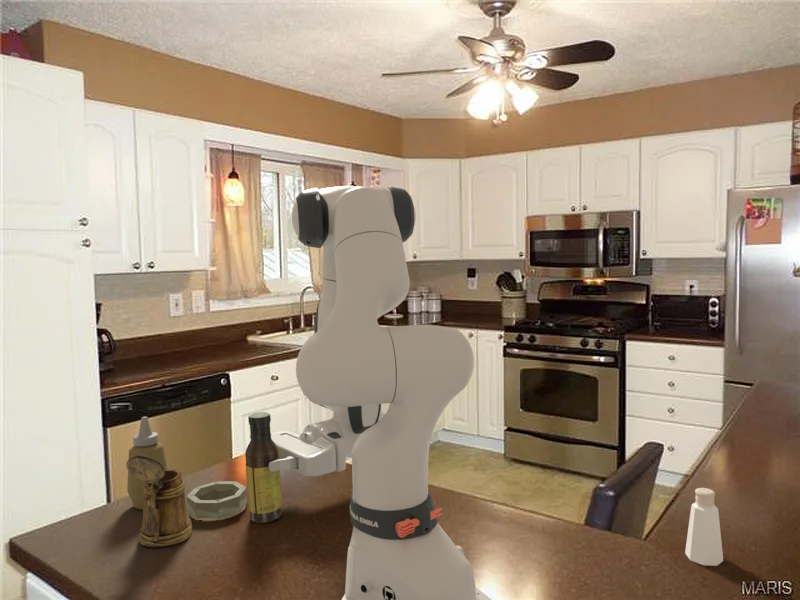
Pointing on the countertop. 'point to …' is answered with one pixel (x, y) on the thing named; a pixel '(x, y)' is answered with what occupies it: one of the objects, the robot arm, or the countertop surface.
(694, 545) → the salt shaker
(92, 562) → the countertop surface
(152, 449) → the squeeze bottle
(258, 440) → the sauce bottle
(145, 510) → the wooden mug
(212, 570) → the countertop surface
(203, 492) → the grey faceted bowl
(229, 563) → the countertop surface
